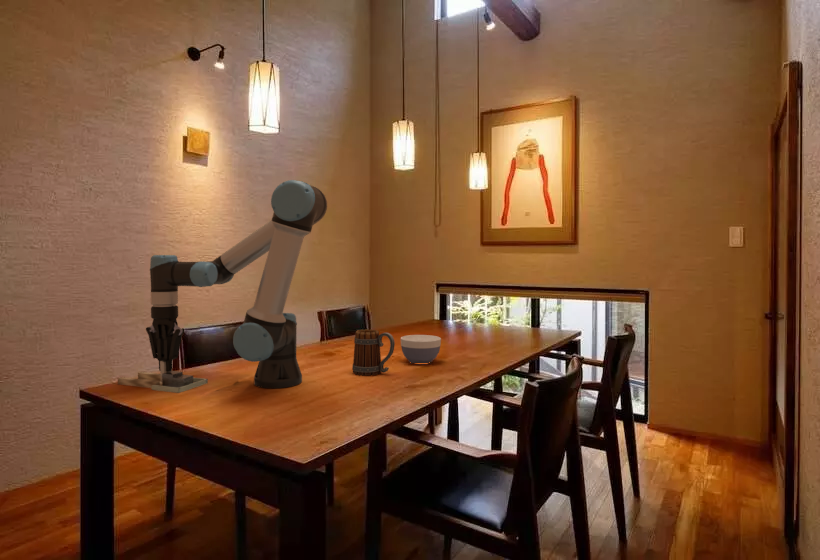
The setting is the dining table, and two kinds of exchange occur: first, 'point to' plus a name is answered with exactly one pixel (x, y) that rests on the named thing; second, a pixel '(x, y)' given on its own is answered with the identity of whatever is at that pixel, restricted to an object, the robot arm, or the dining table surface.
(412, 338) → the bowl
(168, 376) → the chip
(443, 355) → the dining table surface
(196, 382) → the grey rectangular frame
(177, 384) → the chip
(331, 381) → the dining table surface
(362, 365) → the mug
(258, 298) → the robot arm
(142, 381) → the slot board
